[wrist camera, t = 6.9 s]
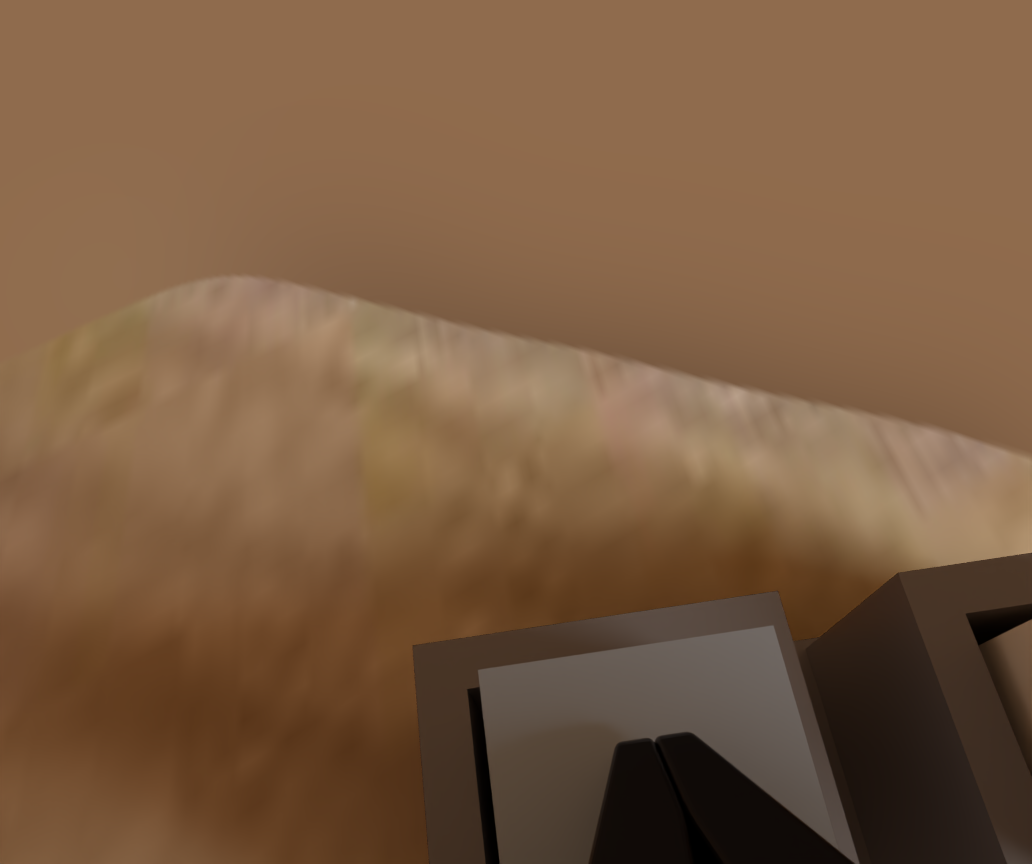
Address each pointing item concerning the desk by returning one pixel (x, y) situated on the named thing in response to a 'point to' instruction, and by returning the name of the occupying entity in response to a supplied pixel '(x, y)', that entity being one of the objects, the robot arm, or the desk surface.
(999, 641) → the beige block
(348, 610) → the desk surface
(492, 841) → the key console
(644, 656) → the slate key
